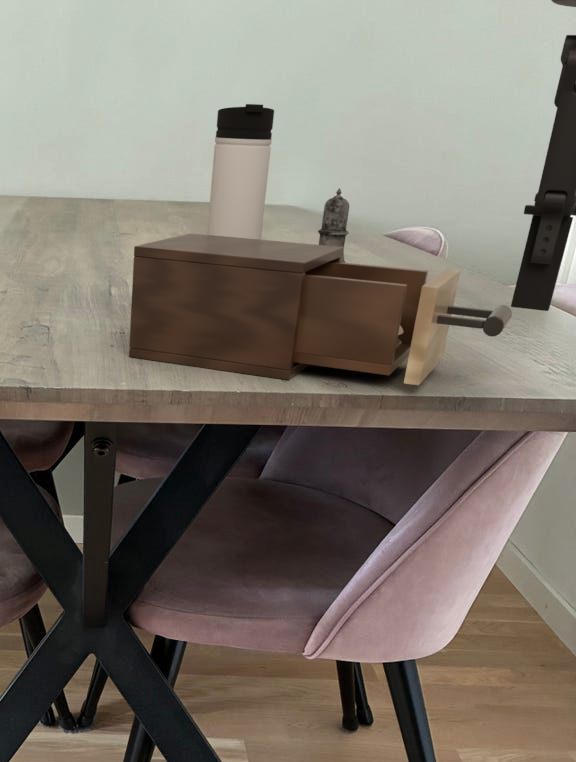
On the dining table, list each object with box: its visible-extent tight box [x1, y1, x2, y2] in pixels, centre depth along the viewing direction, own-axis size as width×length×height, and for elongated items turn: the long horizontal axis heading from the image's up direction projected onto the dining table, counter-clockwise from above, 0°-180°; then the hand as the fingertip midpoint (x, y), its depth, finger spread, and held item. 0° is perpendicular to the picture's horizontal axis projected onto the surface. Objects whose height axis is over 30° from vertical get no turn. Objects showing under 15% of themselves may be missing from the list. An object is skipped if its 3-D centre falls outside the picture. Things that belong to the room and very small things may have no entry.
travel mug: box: [206, 103, 275, 240], centre depth 109 cm, size 6×7×20 cm
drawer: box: [294, 261, 513, 386], centre depth 79 cm, size 18×11×7 cm, turn 63°
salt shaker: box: [317, 188, 350, 263], centre depth 112 cm, size 6×6×12 cm
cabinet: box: [128, 232, 345, 381], centre depth 84 cm, size 15×13×9 cm
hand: (530, 307), depth 74 cm, fingers closed
